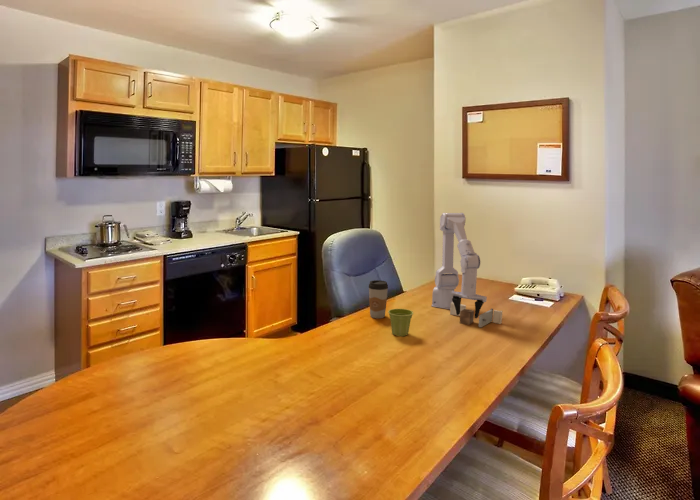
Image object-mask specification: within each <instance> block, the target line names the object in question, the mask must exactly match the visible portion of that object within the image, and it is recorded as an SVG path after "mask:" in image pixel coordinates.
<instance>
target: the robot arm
mask: <svg viewBox="0 0 700 500" xmlns="http://www.w3.org/2000/svg"><path fill="white" fill-rule="evenodd" d="M466 219H467V217H466V215H465V213H464V212H442V213H441V215H440V218H439V230H440V231H441V232H442V260H441V261H442V263H441V264H442V266H440V267H439V268H438V269H437V270H436V271H435V276H434V284H435V286H434V288H433V289H432V297H431V298H432V299H431V307H434V308H440V309H445V310H450V306H451V303H452V302H453V303H454V305H455V309H456V314H457V315H459V314H460V304H462V299H466V300H471V301H472V300H473V301H475V302H474V319H479V315H480V311H481V309H482V307H483V305H484V303H486V302H487V300H488V299H487V296H486V295H485V296H484V295H481V294H478V293H477V280H478V278H477V276H478V269H479V268H480V267H481V258H480V255H479V254H478V253H477V252H475V250H474V248H473V247H474V246H473V244H472V242H471V240H469V239H468V238H467V233H466V230H465V226H466ZM455 237H456V239H457V241H458V243H457V249H458V252H459V255H460V261H459V262H460V268H461V269H460V271H461V273H462V275H461V291H455V290H456V288H457V287H458V286H459V285H460V284H459V283H460V278H459V272H458V270H457V269H456V268H455V267H454V253H455V252H454V251H455V250H454V246H455V245H454V244H455V243H454V242H455Z"/></svg>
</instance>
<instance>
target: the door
mask: <svg viewBox="0 0 700 500" xmlns="http://www.w3.org/2000/svg"><path fill="white" fill-rule="evenodd" d="M493 313H494V308H490V309H489V310H487V311H485V312H483V313H481V314H478V327H479V328H483V327H485V326H486V325H488V324H490V323H491V322H492V323H493Z"/></svg>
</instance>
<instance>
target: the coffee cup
mask: <svg viewBox="0 0 700 500" xmlns="http://www.w3.org/2000/svg"><path fill="white" fill-rule="evenodd" d="M388 289H389V284H388V282H387V281H385V280H379V279H377V280H375V279H374V280H370V281H369V283H368V295H369V296H368V299H369V300H368V301H369V304H368V305H369V315H370V317H371V318H372V319H383V318H384V317H385V316H386V309H387V301H388Z"/></svg>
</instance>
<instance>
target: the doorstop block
mask: <svg viewBox="0 0 700 500" xmlns="http://www.w3.org/2000/svg"><path fill="white" fill-rule="evenodd" d="M474 319H475V309H467V308H466V309H464V310H462V311H460V316H459V324H462V325H467V326H470V325H471V324H472V323H473V322H474Z"/></svg>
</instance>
